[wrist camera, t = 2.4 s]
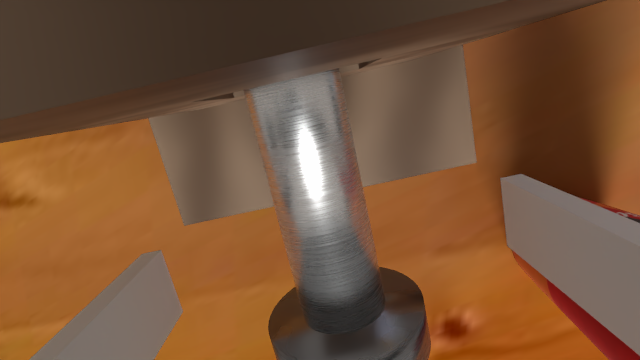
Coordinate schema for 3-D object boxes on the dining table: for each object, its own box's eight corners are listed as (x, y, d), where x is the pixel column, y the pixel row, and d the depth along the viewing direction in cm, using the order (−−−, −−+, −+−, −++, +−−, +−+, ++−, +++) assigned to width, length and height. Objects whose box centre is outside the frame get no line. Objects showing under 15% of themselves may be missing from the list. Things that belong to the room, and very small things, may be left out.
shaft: (285, 312, 16) (270, 424, 11) (154, -157, 12) (20, -362, 7) (408, 288, 16) (455, 390, 11) (320, -201, 12) (322, -452, 6)
